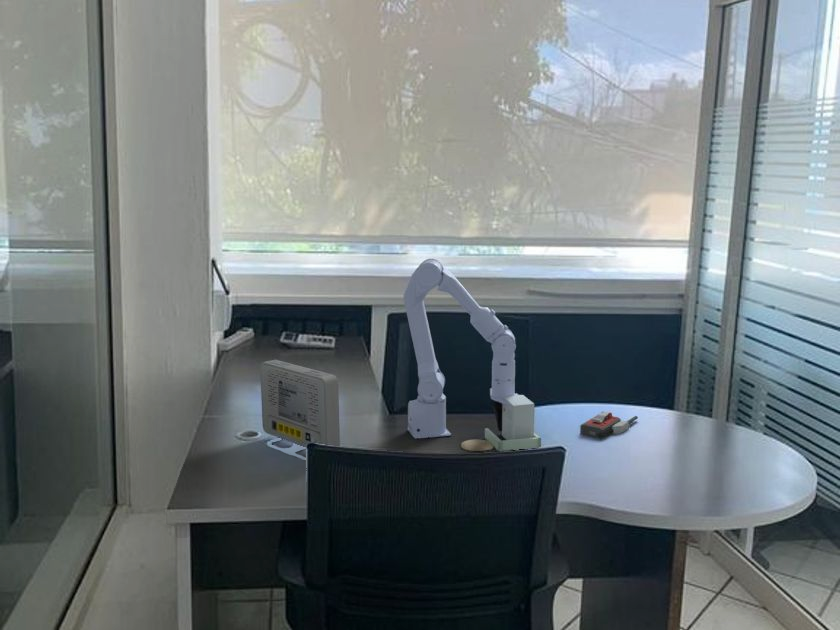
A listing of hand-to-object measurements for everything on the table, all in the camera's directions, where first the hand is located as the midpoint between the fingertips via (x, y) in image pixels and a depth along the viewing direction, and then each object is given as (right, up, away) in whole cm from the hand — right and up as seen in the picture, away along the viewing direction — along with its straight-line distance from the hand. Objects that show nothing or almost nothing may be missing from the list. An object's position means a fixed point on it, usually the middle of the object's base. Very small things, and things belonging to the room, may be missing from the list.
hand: (502, 430), depth 219 cm
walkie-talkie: (+28, -1, +5) cm, 28 cm away
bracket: (+2, -2, -6) cm, 6 cm away
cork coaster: (-7, -3, -9) cm, 11 cm away
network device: (-50, -3, -9) cm, 51 cm away
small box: (+3, -2, -5) cm, 6 cm away
